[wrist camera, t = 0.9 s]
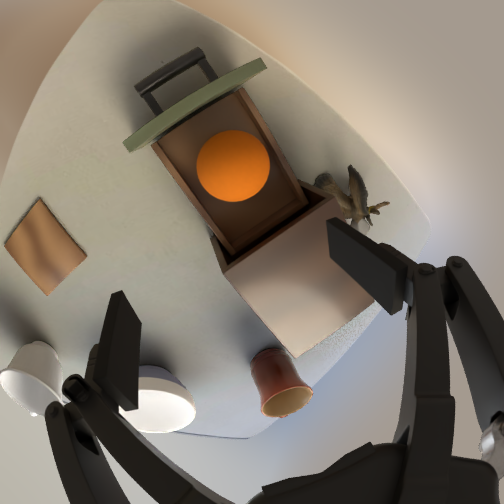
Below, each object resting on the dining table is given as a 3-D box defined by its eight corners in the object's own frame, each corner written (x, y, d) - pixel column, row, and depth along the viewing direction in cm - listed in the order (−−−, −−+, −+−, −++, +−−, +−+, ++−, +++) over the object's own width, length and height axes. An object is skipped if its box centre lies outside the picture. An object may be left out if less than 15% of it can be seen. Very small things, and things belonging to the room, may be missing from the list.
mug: (242, 348, 44) (260, 396, 35) (291, 337, 46) (316, 379, 37) (246, 388, 49) (261, 429, 40) (288, 377, 51) (307, 416, 42)
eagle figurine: (379, 182, 36) (347, 150, 31) (398, 220, 32) (367, 191, 27) (341, 207, 41) (304, 182, 36) (354, 246, 37) (316, 224, 32)
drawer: (116, 111, 24) (95, 104, 17) (218, 46, 24) (235, 20, 16) (218, 250, 35) (233, 286, 27) (305, 191, 35) (341, 211, 27)
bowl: (199, 394, 46) (206, 426, 40) (131, 405, 44) (132, 436, 37) (176, 344, 40) (180, 381, 33) (97, 359, 37) (91, 394, 30)
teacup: (17, 366, 33) (4, 405, 24) (17, 314, 30) (-6, 357, 21) (69, 390, 38) (62, 431, 30) (78, 344, 35) (66, 392, 26)
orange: (236, 118, 27) (255, 114, 21) (268, 170, 31) (294, 182, 24) (181, 154, 27) (183, 160, 21) (216, 205, 31) (229, 225, 25)
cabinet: (209, 238, 34) (222, 273, 26) (298, 179, 34) (335, 196, 26) (273, 319, 43) (295, 358, 35) (342, 271, 43) (374, 301, 35)
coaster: (40, 198, 25) (39, 199, 25) (87, 256, 30) (86, 257, 30) (5, 245, 25) (3, 246, 25) (48, 294, 30) (47, 296, 30)
